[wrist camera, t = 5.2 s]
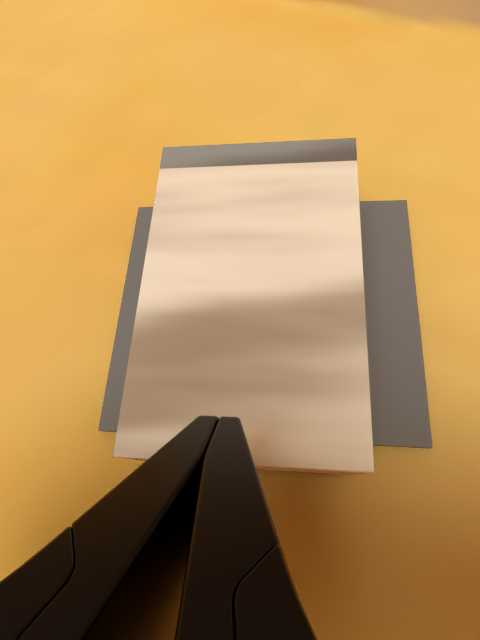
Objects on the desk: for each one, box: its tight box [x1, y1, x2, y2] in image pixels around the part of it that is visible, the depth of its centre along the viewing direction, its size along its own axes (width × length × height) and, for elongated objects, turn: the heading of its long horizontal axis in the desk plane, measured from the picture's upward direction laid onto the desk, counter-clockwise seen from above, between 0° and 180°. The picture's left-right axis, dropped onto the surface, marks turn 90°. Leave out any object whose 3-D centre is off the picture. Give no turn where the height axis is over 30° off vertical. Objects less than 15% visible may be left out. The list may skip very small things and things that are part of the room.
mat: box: [99, 200, 432, 448], centre depth 18 cm, size 11×13×1 cm
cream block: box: [113, 138, 374, 475], centre depth 15 cm, size 5×7×11 cm
